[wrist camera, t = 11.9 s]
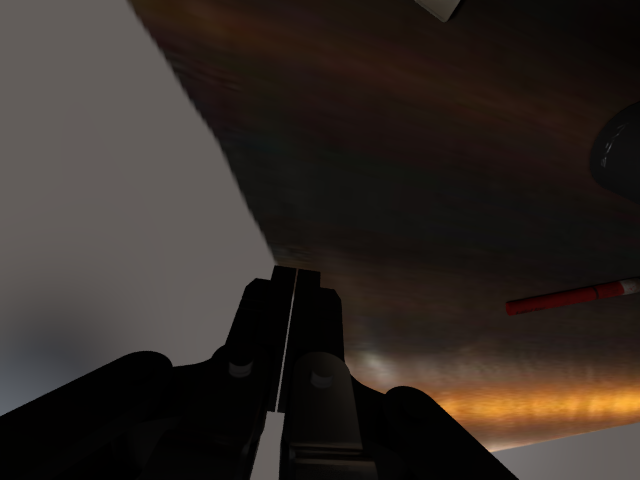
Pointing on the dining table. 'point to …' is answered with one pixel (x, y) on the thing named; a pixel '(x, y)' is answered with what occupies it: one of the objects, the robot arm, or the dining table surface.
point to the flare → (574, 296)
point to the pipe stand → (439, 7)
